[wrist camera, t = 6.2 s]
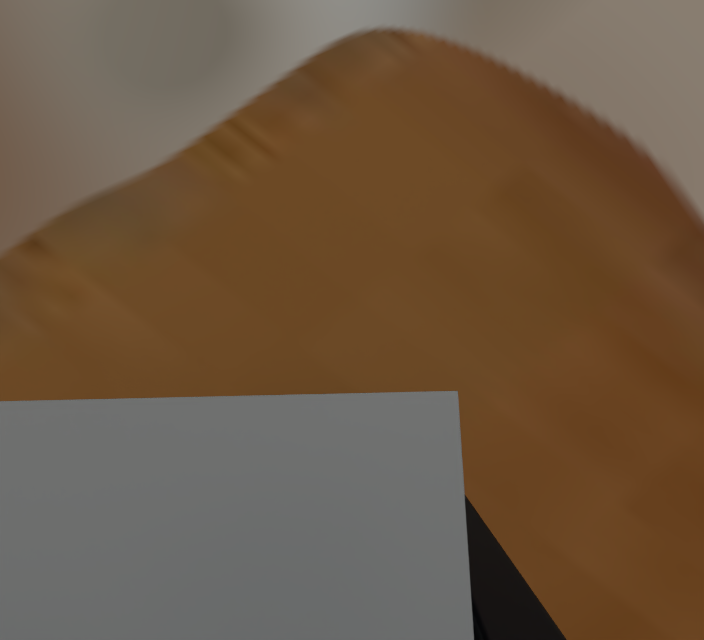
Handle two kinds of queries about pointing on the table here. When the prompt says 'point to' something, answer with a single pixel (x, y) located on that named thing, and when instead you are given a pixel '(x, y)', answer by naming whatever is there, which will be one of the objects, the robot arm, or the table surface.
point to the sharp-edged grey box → (234, 518)
